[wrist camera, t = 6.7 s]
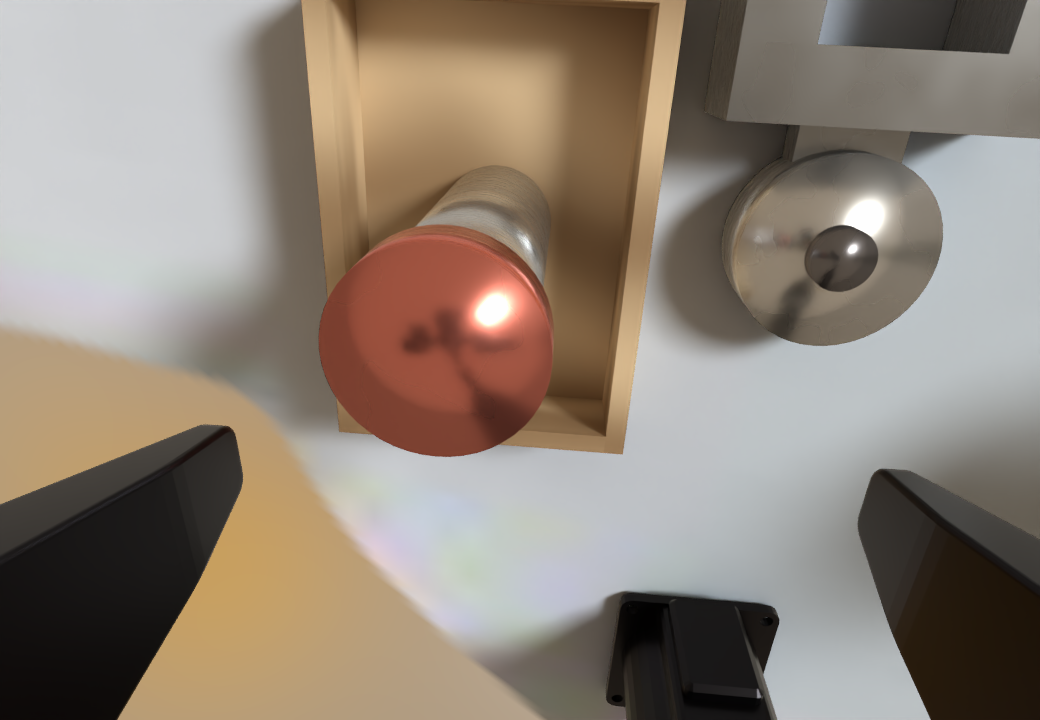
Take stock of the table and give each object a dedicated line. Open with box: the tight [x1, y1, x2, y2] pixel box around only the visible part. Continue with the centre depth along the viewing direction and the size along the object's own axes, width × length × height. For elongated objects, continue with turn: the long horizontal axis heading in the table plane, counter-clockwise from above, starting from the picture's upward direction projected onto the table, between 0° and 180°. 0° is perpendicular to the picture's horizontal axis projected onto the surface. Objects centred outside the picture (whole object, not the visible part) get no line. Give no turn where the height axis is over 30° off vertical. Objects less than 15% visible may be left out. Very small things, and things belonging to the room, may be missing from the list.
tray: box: [301, 0, 686, 454], centre depth 19 cm, size 13×9×3 cm
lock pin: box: [319, 165, 554, 457], centre depth 15 cm, size 4×4×10 cm
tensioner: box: [704, 0, 1040, 346], centre depth 17 cm, size 14×8×3 cm, turn 177°
